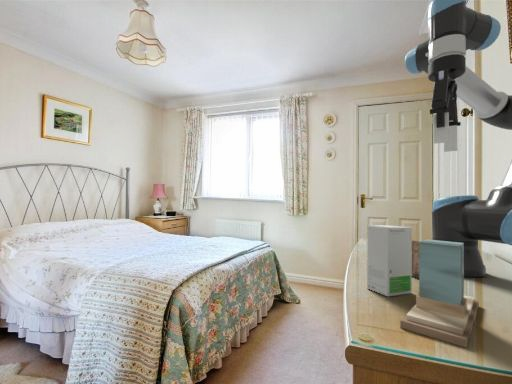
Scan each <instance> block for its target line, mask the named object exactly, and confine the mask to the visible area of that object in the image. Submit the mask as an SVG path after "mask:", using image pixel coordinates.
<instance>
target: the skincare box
mask: <svg viewBox="0 0 512 384" xmlns="http://www.w3.org/2000/svg"><path fill="white" fill-rule="evenodd" d="M412 228H413V227H412V226H400V225H391V224H390V225H385V224H383V225H380V224H368V225H367V256H366V257H367V263H366V264H367V269H366V270H367V271H366V272H367V274H366V276H367V277H366V289H367V290H369V289H370V290H369V291H371V290H372V292H374V291H375V292H374V293H376V292H377V294H379V293H380V295H382V296H384V297H385V296H386V297H394V296H401V295H408V294H412V293H413V292H412V290H413V288H412V287H413V285H412V283H413V282H412V280H413V279H412V278H413V276H412V241H413V240H412V239H413V238H412V236H413V235H412V234H413V233H412V232H413V231H412Z"/></svg>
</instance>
